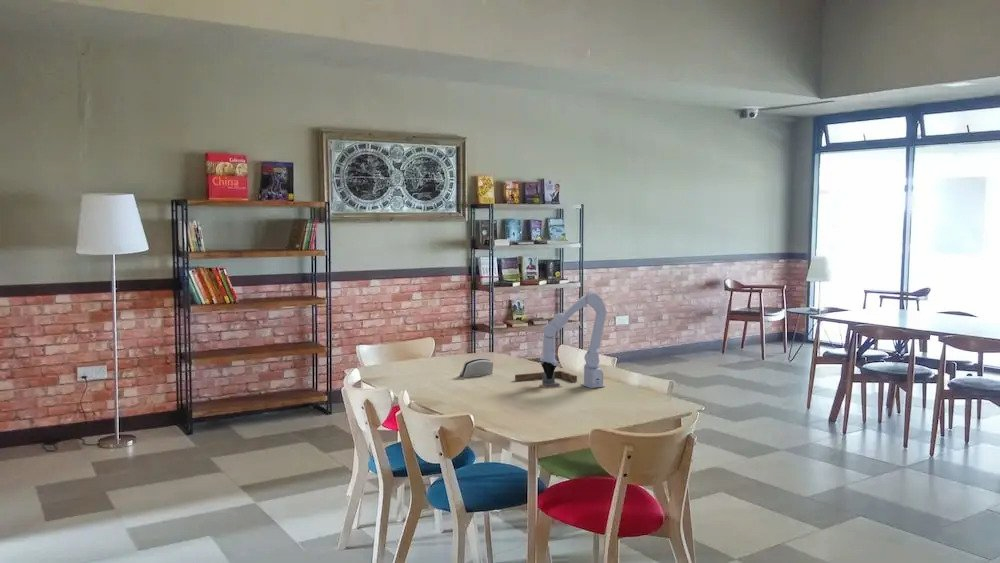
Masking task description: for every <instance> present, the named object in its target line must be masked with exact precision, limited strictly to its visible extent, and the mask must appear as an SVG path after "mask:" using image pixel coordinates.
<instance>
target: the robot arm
mask: <svg viewBox="0 0 1000 563" xmlns="http://www.w3.org/2000/svg"><path fill="white" fill-rule="evenodd" d="M588 306H590V308H593V311H594V312H595V317H594V322H593V323H594V324H593V326H592V332H591V337H590V341H589V345H588V348H587V352H586V353H585V355H584V361H585V364H584V366H583V382H580V385H581V386H583V387H587V388H589V389H594V388H604V387H605V385H604V373H603V370H602V369H601V368H600V365H599V364H600V356H599V355H600V346H601V341H602V336H603V331H604V326H605V321H606V316H607V313H608V312H607V308H606V306H605V303H604V301H603V299H602V298H601V296H600V295H598V293H597V292H596V291H594V290H593V291H592V290H591V291H587V293H586V294H584V295H583V296H581V297H580V298H579V299H577V300H576V301H575V302H574V303H573V304H572V305H571V306H570V307H569V308H568V309H567V310H566V311H564V313H563V312H560V313H556V314H555V317H553V319H551V320H549V321H548V322H547V324H545V325H544V326H543V327H542V333H543V335H542V338H543V339H542V340H543V341H542V356H539V361H540V362H543V363H541V364H540V365H541V367H542V370H543V372H547V379H552V377H553V373H554V371H556V369H557V366H559V361H557V359H556V340H555V335H556V334H557V332H559V331H560V330H562V328H563V327H564V326H566V325H567V324H568V323H569V318H571V317H572V316H573V315H574V314H575V313H577V312H578V311H580V310H581V309H582V308H588Z"/></svg>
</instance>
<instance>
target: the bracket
mask: <svg viewBox="0 0 1000 563" xmlns="http://www.w3.org/2000/svg"><path fill="white" fill-rule="evenodd" d="M541 372H542V379H541V381H542V382H541V384H542V385H544V386H546V387H557V386H561V384H560V383H558V382H556V380H555V379H556V378H555V372H554V373H553V377H552V379H547V372H544V371H541ZM557 388H558V387H557Z"/></svg>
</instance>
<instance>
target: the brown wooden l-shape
mask: <svg viewBox="0 0 1000 563" xmlns="http://www.w3.org/2000/svg"><path fill="white" fill-rule="evenodd" d="M542 372H543V371H541V372H532V373H531V372H530V373H520V374H514V381H515V382H525V381H526V380H527V381H535V380H534V379H538V380H542ZM554 372H555V379H557V378H558V377H559V378H561V379H564V380H566V381H569V382H572V383H577V382H578V376H577V375H576V374H573V373H570V372H567V371H565V370H554Z"/></svg>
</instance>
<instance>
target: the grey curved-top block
mask: <svg viewBox="0 0 1000 563" xmlns="http://www.w3.org/2000/svg"><path fill="white" fill-rule="evenodd" d="M463 364H464V365H463V367H462V369H461V371H460V372H459V377H462V378H464V377H465V378H472V377H471V376H473V377H479V376H478V375H481V376H487V375H488V374H489V375H493V371H494V370H493V369H494V363H493V361H492V360H491V359H489V358H486V357H476V358H472V359H469V360H467V361H465V362H464V363H463Z"/></svg>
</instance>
